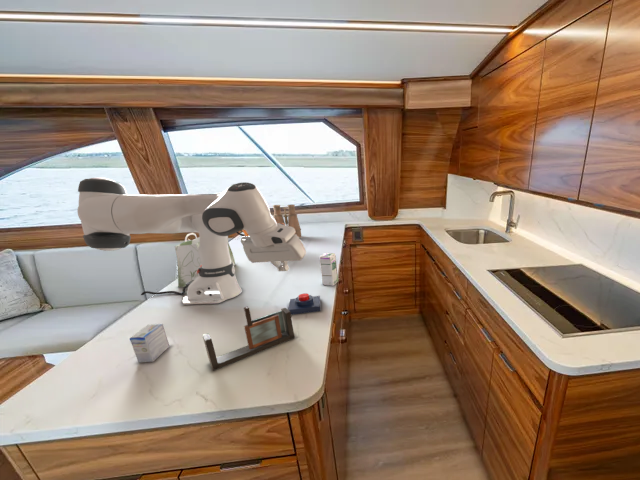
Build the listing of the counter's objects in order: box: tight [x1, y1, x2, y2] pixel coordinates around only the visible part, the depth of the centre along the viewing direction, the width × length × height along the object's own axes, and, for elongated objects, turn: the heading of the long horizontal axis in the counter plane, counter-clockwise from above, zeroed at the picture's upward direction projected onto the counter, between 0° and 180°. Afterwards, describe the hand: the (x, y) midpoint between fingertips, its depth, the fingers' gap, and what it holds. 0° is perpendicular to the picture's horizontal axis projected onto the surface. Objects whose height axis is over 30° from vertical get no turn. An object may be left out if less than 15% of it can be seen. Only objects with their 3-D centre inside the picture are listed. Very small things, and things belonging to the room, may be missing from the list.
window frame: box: [201, 307, 295, 372], centre depth 92 cm, size 24×4×10 cm, turn 132°
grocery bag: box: [174, 232, 236, 288], centre depth 153 cm, size 32×14×23 cm, turn 4°
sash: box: [243, 306, 282, 349], centre depth 92 cm, size 10×1×14 cm, turn 132°
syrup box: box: [318, 252, 339, 286], centre depth 141 cm, size 6×6×14 cm
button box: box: [287, 294, 321, 316], centre depth 120 cm, size 12×10×4 cm
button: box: [297, 292, 310, 301], centre depth 119 cm, size 4×4×2 cm
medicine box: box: [129, 323, 170, 363], centre depth 91 cm, size 8×4×9 cm, turn 5°
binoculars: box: [272, 204, 303, 239], centre depth 226 cm, size 21×10×25 cm, turn 93°
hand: (284, 270), depth 99 cm, fingers closed
